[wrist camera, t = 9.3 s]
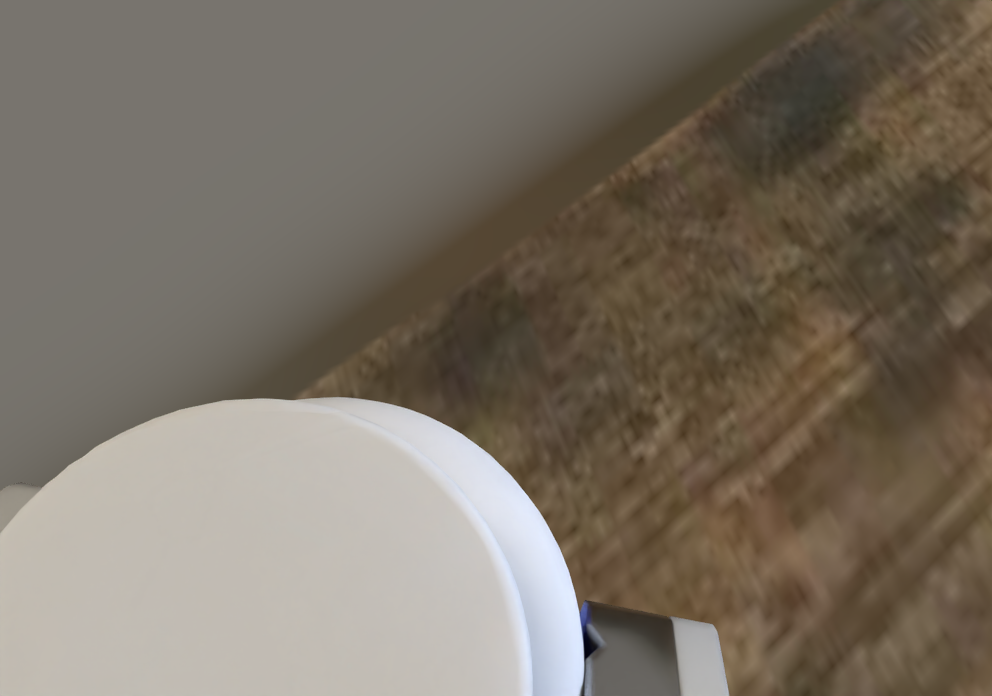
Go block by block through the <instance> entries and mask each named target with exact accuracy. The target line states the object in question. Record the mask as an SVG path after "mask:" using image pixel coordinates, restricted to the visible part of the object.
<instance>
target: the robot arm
mask: <svg viewBox="0 0 992 696" xmlns="http://www.w3.org/2000/svg"><path fill="white" fill-rule="evenodd" d="M41 489H42V487H38V486H34V485H30V484H26V483H17V484H13V485H10V486H7V487H5V488H4V489H3V490H1V491H0V533H1V532H2V531H3V529H4V528H5V527H6V526H7V525H8V523H9V522H10V521H11V520H12V519H13V518H14V516H15V515H16V514H17V513H18V512H19V510H20V509H21V508H22V507H23V506H24V505H26V504H27V503H28V502H29V501H30V500H31V499H32V498H33V497H34V496H35V495H36V494H37V493H38V492H39V491H40V490H41ZM580 622H581V629H582V637H583V648H584V684H583V695H582V696H729V692H728V686H727V681H726V676H725V670H724V665H723V659H722V654H721V648H720V643H719V637H718V632H717V630H716V629H715V627H714V626H713V625H712V624H708V623H703V622H697V621H692V620H687V619H682V618H676V617H671V616H670V617H669V618H668V617H667V616H664V615H658V614H653V613H648V612H643V611H638V610H633V609H628V608H623V607H618V606H613V605H608V604H602V603H597V602H592V601H587V600H585V601H584V604H583V606H582V608H581V612H580Z"/></svg>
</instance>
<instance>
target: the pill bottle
mask: <svg viewBox="0 0 992 696" xmlns="http://www.w3.org/2000/svg"><path fill="white" fill-rule="evenodd" d="M583 684H584V648H583V637H582V629H581V622H580V615H579V609H578V605H577V600H576V596H575V592H574V588H573V585H572V581H571V578H570V574H569V571H568V568H567V566H566V563H565V561H564V558H563V556H562V553H561V551H560V548H559V546H558V544H557V542H556V541H555V539H554V537H553V535H552V533H551V531H550V529H549V527H548V525H547V524H546V522H545V520H544V518H543V517H542V515H541V514H540V512H539V511H538V509H537V508H536V507H535V505H534V504H533V502H532V501H531V500H530V498H529V497H528V496H527V495H526V493H525V492H524V491H523V490H522V488H521V487H520V486H519V485H518V483H517V482H516V481H515V480H514V479H513V477H512V476H511V475H510V474H509V473H508V472H507V471H506V470H505V469H504V468H503V467H502V466H501V465H500V464H499V463H498V462H497V461H496V460H495V459H494V458H493V457H492V456H491V455H490V454H488V453H487V452H486V451H484V450H483V449H482V448H480V447H479V446H478V445H476V444H475V443H473V442H472V441H471V440H469V439H468V438H466V437H465V436H464V435H462V434H461V433H459V432H457V431H455V430H454V429H452V428H450V427H448V426H446V425H444V424H443V423H441V422H438V421H436V420H434V419H432V418H430V417H428V416H426V415H423V414H420V413H418V412H415V411H412V410H409V409H406V408H403V407H399V406H395V405H391V404H386V403H382V402H377V401H370V400H363V399H356V398H344V397H331V398H312V399H300V400H294V401H292V400H280V399H244V400H224V401H220V402H215V403H210V404H205V405H200V406H195V407H191V408H186V409H181V410H178V411H175V412H173V413H170V414H167V415H164V416H160V417H157V418H154V419H152V420H150V421H148V422H146V423H143V424H141V425H139V426H136V427H134V428H132V429H129V430H127V431H125V432H123V433H121V434H119V435H117V436H115V437H113V438H111V439H110V440H108V441H106V442H104V443H102V444H100V445H98V446H97V447H95V448H94V449H92V450H91V451H90V452H89V453H87V454H86V455H85V456H84V457H82V458H81V459H79V460H77V461H75V462H73V463H72V464H70V465H69V466H68V467H67V468H66V469H65V470H64V471H62V472H61V473H60V474H59V475H58V476H57V477H56V478H54V479H53V480H51V481H50V482H48V483H47V484H46V485H45V486H44V487H43V488H42V489H41V490H40V491H39V492H38V493H37V494H36V495H35V496H34V497H33V498H32V499H31V500H30V501H29V502H28V503H27V504H26V505H24V506H23V507H22V508H21V509H20V510H19V512H18V513H17V514H16V515H15V516H14V518H13V519H12V520H11V521H10V522H9V523H8V525H7V526H6V527H5V528H4V529H3V531H2V532H1V533H0V696H582V695H583Z"/></svg>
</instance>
